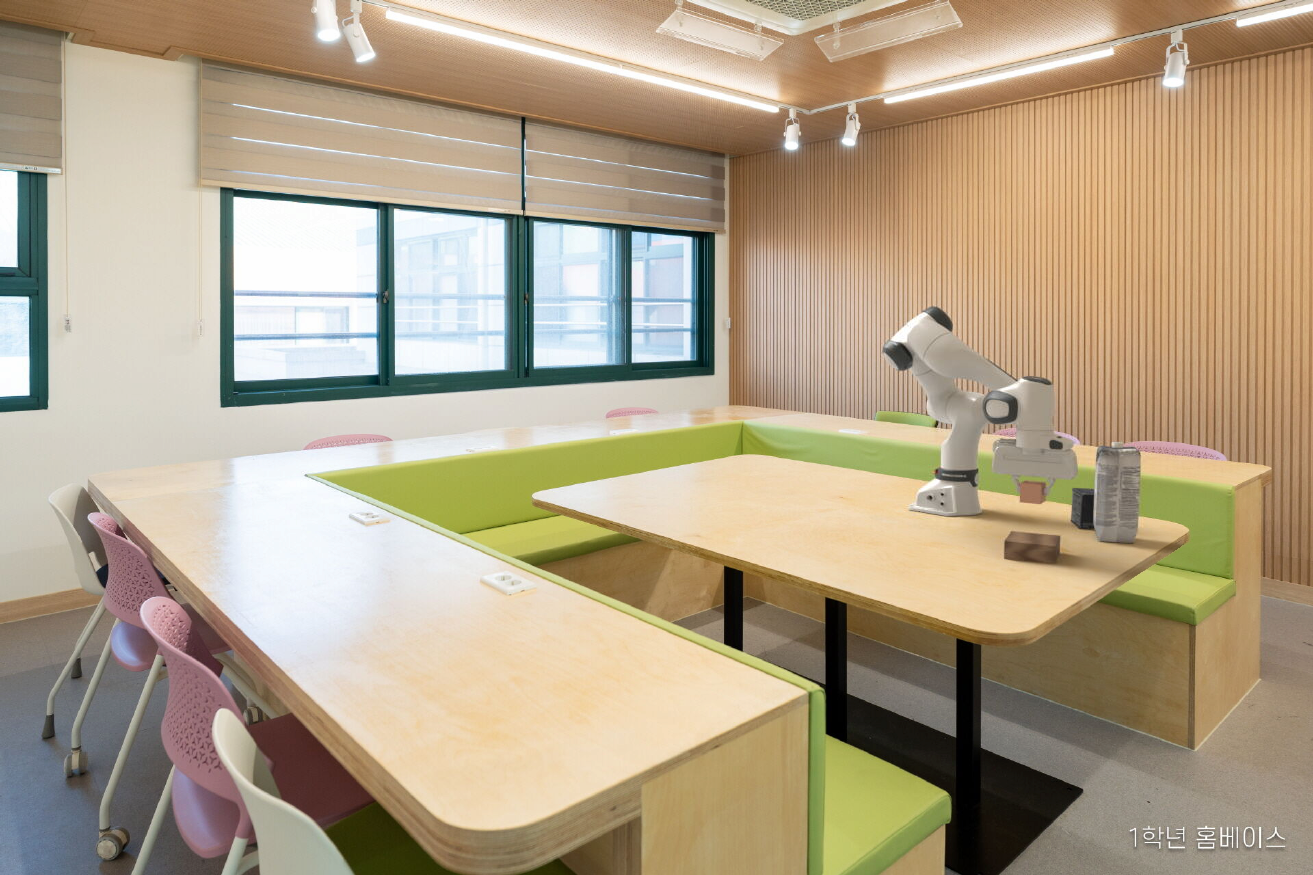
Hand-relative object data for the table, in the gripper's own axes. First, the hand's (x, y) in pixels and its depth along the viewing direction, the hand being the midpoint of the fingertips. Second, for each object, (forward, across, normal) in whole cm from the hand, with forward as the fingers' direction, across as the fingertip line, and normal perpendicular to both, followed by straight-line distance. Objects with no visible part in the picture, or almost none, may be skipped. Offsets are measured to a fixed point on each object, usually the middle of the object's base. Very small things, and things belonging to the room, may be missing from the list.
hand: (1032, 493), depth 222 cm
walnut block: (+17, 0, 0) cm, 17 cm away
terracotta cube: (+2, 0, 0) cm, 2 cm away
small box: (+17, +4, +43) cm, 46 cm away
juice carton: (+17, +14, +29) cm, 37 cm away
